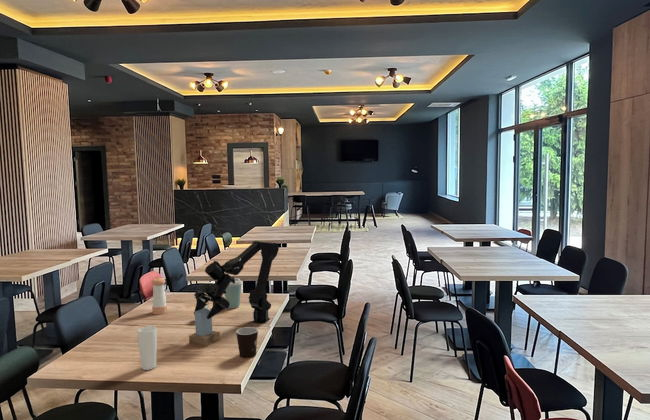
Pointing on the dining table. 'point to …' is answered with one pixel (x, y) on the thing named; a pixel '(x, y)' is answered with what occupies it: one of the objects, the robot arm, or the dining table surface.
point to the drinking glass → (147, 346)
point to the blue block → (203, 322)
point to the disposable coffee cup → (234, 293)
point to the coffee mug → (247, 341)
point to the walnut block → (204, 339)
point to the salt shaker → (159, 296)
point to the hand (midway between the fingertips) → (200, 316)
